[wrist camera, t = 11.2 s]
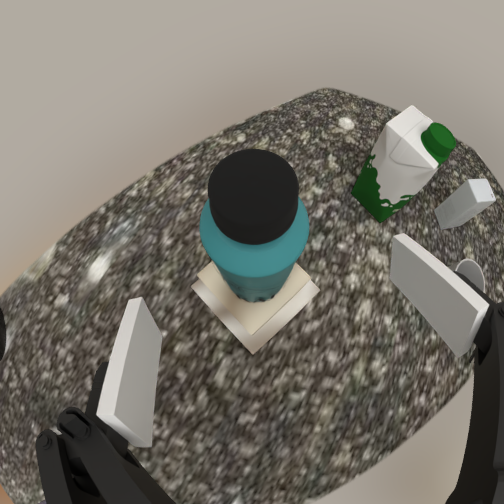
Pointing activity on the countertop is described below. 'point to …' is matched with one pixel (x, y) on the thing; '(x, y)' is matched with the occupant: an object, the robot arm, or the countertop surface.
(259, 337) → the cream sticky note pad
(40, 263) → the countertop surface
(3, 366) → the countertop surface
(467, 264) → the cup
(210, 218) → the beverage bottle
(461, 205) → the skincare box
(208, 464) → the countertop surface
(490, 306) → the robot arm
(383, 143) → the milk carton
